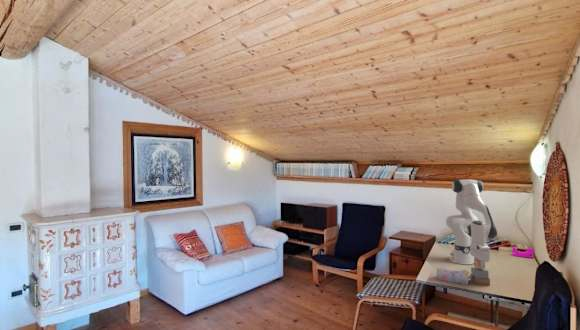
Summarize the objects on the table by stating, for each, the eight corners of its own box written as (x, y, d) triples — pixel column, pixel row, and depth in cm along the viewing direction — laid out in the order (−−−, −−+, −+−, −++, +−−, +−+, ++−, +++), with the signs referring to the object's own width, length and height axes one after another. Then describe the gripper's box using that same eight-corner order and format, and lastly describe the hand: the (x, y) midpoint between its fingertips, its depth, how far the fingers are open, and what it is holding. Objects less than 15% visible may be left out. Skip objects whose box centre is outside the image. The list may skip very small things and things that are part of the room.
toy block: (532, 255, 295) (532, 247, 295) (533, 257, 289) (533, 249, 289) (512, 254, 302) (512, 245, 302) (512, 255, 297) (512, 247, 297)
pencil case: (469, 282, 232) (469, 269, 232) (469, 286, 225) (469, 272, 225) (437, 278, 243) (436, 265, 243) (435, 282, 235) (435, 268, 235)
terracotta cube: (473, 266, 234) (473, 259, 234) (481, 266, 233) (481, 259, 233) (477, 268, 229) (477, 261, 229) (485, 268, 228) (484, 261, 228)
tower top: (471, 274, 236) (471, 267, 236) (483, 274, 234) (483, 267, 235) (475, 278, 228) (475, 270, 228) (488, 278, 227) (488, 270, 227)
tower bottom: (470, 281, 236) (470, 274, 236) (483, 281, 235) (483, 274, 235) (476, 285, 227) (475, 278, 227) (490, 285, 226) (489, 278, 226)
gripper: (467, 241, 242) (467, 260, 242) (481, 248, 221) (482, 269, 221) (476, 241, 241) (476, 260, 241) (491, 248, 221) (491, 269, 221)
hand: (479, 264), depth 231 cm, fingers closed on terracotta cube, 5 cm apart
